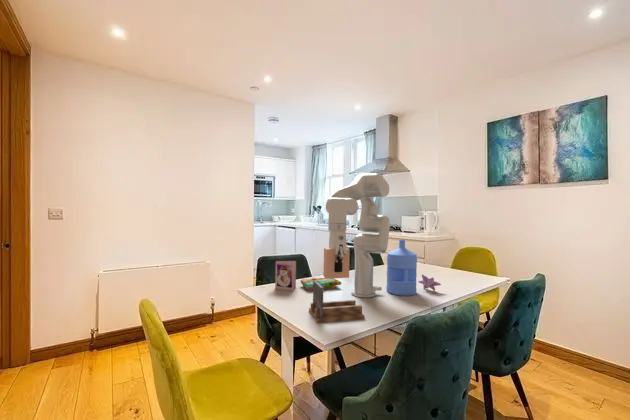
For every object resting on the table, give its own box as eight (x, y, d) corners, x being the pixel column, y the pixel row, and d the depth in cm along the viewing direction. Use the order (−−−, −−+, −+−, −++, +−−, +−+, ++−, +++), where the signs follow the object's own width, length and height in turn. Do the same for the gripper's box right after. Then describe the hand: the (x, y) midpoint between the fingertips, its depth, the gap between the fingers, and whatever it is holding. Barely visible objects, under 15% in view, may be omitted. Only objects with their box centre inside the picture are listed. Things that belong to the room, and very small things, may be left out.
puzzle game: (300, 278, 178) (332, 275, 185) (300, 286, 178) (332, 283, 185) (307, 283, 167) (341, 280, 174) (307, 292, 167) (341, 288, 174)
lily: (443, 295, 167) (443, 279, 171) (429, 289, 162) (430, 273, 166) (426, 296, 176) (427, 281, 180) (413, 291, 171) (414, 275, 175)
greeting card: (274, 288, 171) (274, 261, 171) (280, 285, 178) (281, 259, 178) (293, 291, 167) (293, 263, 167) (299, 287, 174) (299, 261, 174)
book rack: (351, 308, 141) (352, 278, 141) (364, 319, 127) (365, 286, 127) (308, 311, 136) (309, 280, 136) (317, 323, 122) (317, 288, 122)
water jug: (382, 288, 176) (383, 238, 175) (409, 288, 177) (410, 238, 176) (391, 296, 160) (392, 242, 160) (421, 296, 161) (422, 242, 161)
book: (345, 275, 134) (346, 247, 134) (349, 277, 131) (349, 249, 130) (323, 276, 132) (323, 248, 132) (326, 278, 128) (326, 249, 128)
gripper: (353, 228, 124) (352, 274, 124) (339, 226, 140) (338, 266, 140) (335, 228, 122) (334, 275, 122) (323, 226, 138) (322, 267, 138)
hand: (336, 270), depth 131 cm, fingers closed on book, 4 cm apart
